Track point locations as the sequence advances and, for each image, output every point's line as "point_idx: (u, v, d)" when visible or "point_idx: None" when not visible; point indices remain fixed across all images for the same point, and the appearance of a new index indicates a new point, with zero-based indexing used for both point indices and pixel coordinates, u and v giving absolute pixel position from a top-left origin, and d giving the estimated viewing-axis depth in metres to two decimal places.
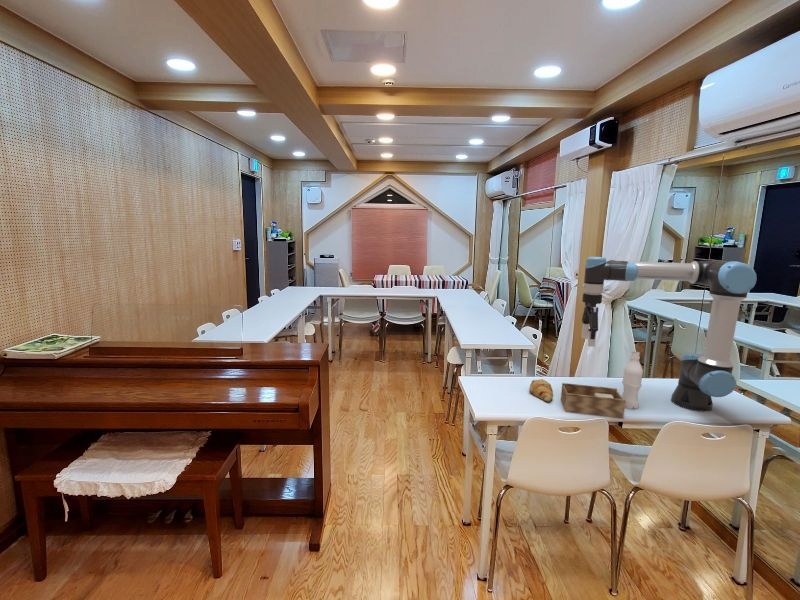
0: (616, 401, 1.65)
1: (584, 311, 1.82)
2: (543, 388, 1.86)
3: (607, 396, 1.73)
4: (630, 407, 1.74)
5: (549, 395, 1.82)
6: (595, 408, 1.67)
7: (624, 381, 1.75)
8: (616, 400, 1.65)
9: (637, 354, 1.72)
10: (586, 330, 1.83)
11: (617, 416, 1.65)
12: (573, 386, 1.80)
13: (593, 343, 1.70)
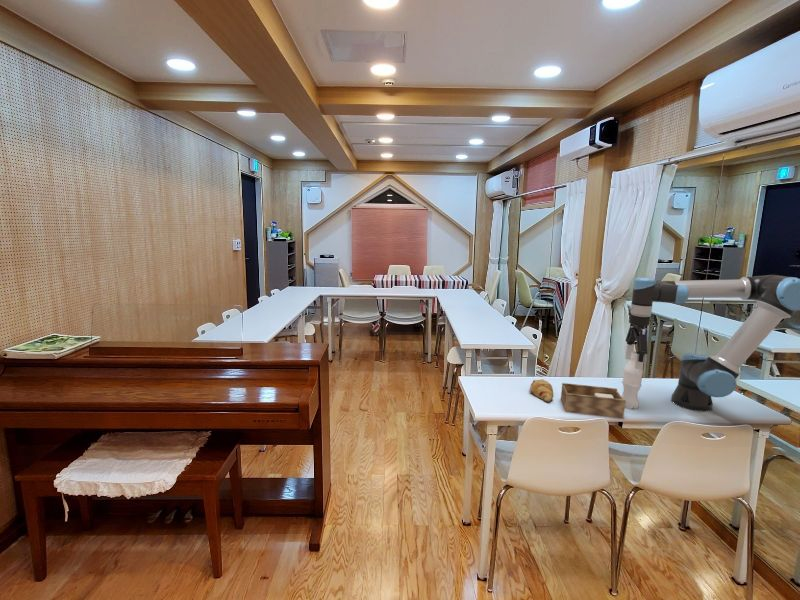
0: (616, 401, 1.65)
1: (629, 332, 1.79)
2: (543, 388, 1.85)
3: (607, 396, 1.73)
4: (630, 407, 1.74)
5: (549, 395, 1.82)
6: (595, 408, 1.67)
7: (624, 381, 1.75)
8: (616, 400, 1.65)
9: None
10: (630, 351, 1.80)
11: (617, 416, 1.65)
12: (573, 386, 1.80)
13: (641, 366, 1.67)
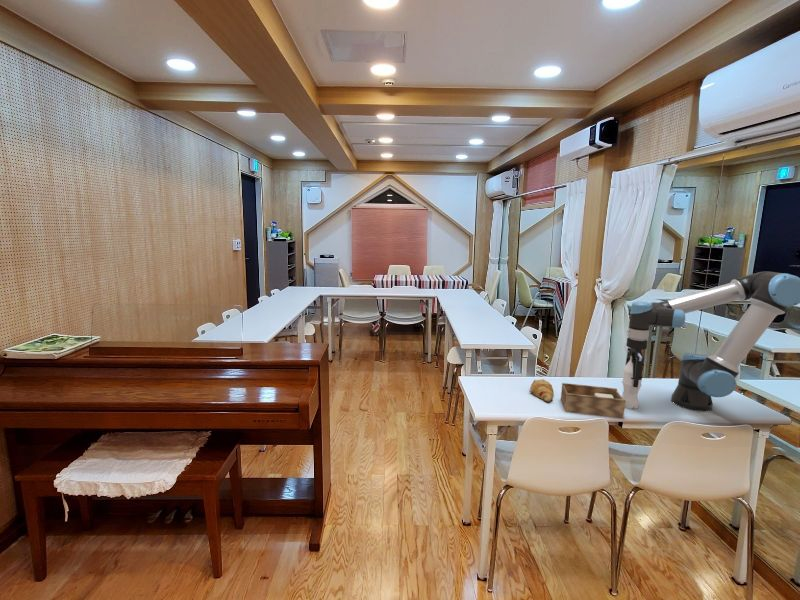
0: (616, 401, 1.65)
1: (627, 357, 1.80)
2: (543, 388, 1.85)
3: (607, 396, 1.73)
4: (630, 407, 1.74)
5: (549, 395, 1.82)
6: (595, 408, 1.67)
7: (624, 381, 1.75)
8: (616, 400, 1.65)
9: None
10: None
11: (617, 416, 1.65)
12: (573, 386, 1.80)
13: (636, 391, 1.72)
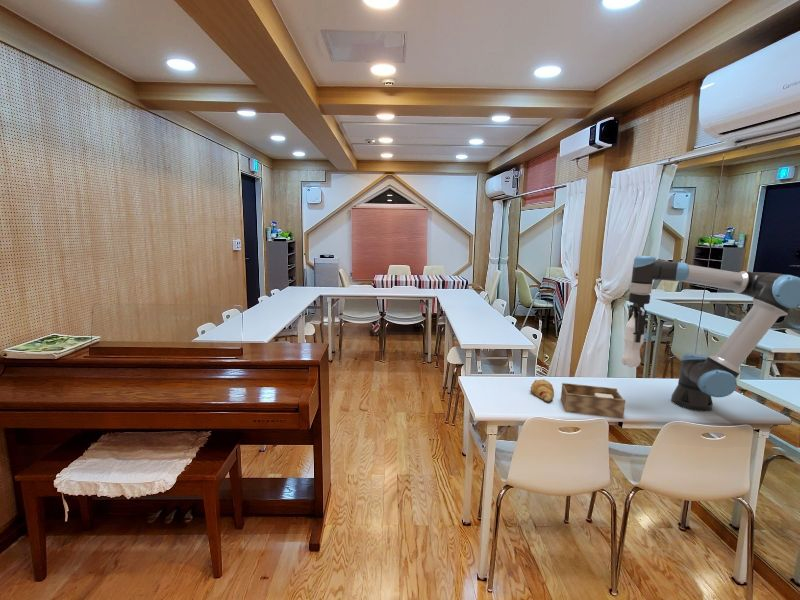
0: (616, 401, 1.65)
1: (629, 314, 1.77)
2: (544, 388, 1.85)
3: (607, 396, 1.73)
4: (632, 363, 1.71)
5: (549, 395, 1.81)
6: (595, 408, 1.67)
7: (626, 337, 1.72)
8: (616, 400, 1.65)
9: None
10: None
11: (617, 416, 1.65)
12: (573, 386, 1.80)
13: (638, 346, 1.69)
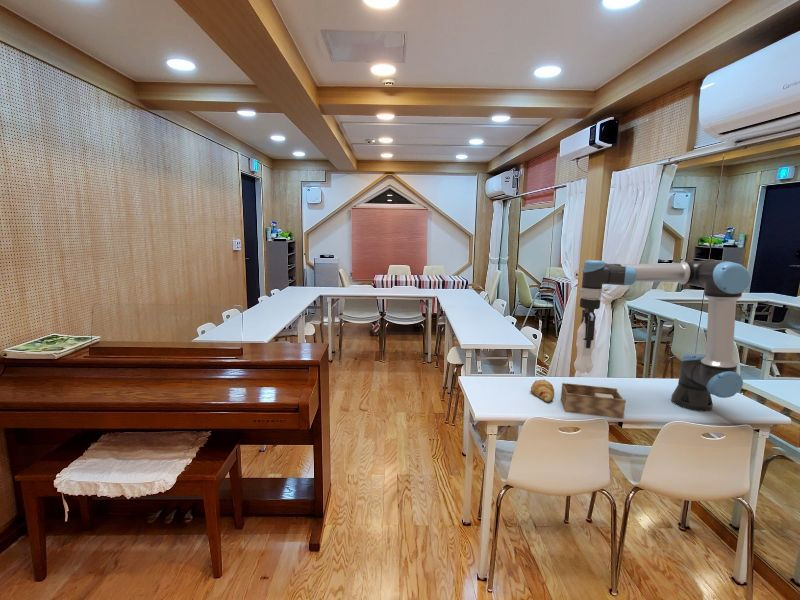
0: (616, 401, 1.65)
1: (582, 319, 1.74)
2: (544, 388, 1.85)
3: (607, 396, 1.73)
4: (583, 369, 1.69)
5: (549, 395, 1.81)
6: (595, 408, 1.67)
7: (577, 343, 1.70)
8: (616, 400, 1.65)
9: None
10: None
11: (617, 416, 1.65)
12: (573, 386, 1.80)
13: (588, 352, 1.66)
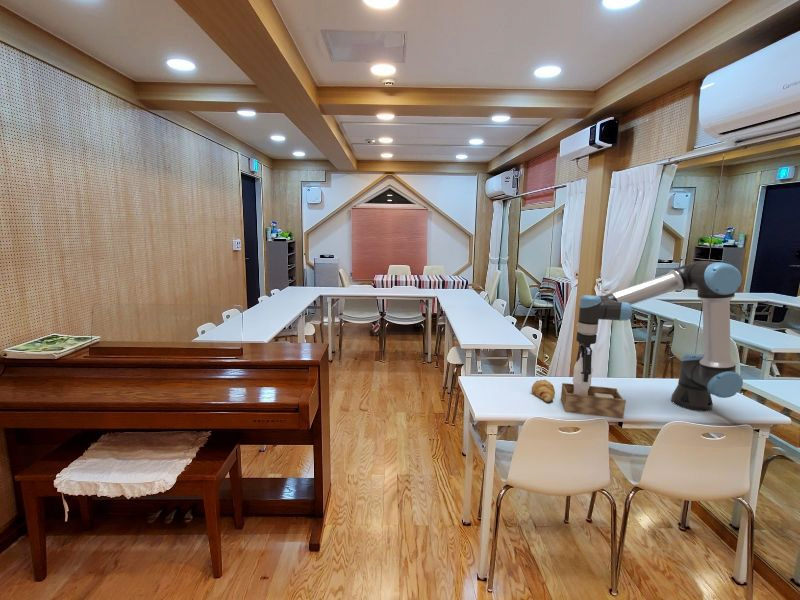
0: (616, 401, 1.65)
1: (578, 351, 1.77)
2: (544, 388, 1.85)
3: (607, 396, 1.73)
4: None
5: (549, 395, 1.81)
6: (595, 408, 1.67)
7: (574, 379, 1.73)
8: (616, 400, 1.65)
9: None
10: None
11: (617, 416, 1.65)
12: (573, 386, 1.80)
13: (586, 386, 1.67)
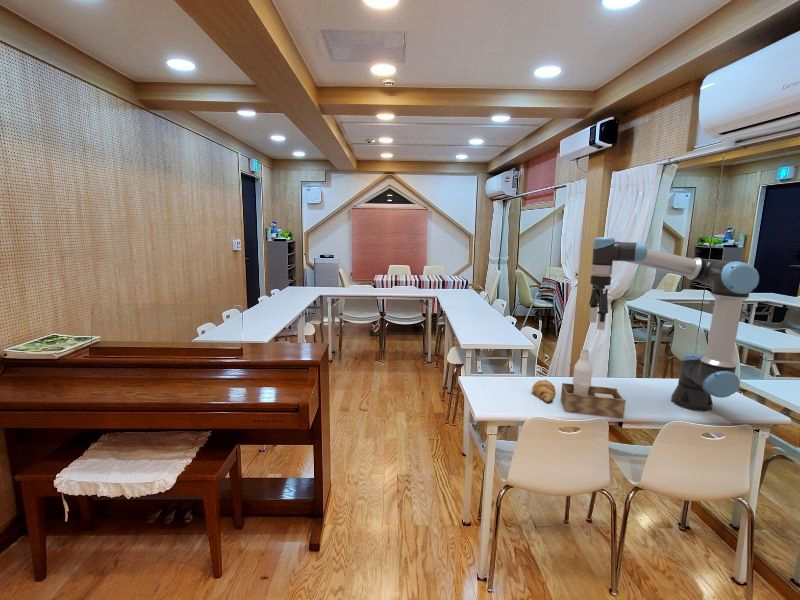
0: (616, 401, 1.65)
1: (592, 294, 1.77)
2: (544, 388, 1.85)
3: (607, 396, 1.73)
4: None
5: (549, 395, 1.81)
6: (595, 408, 1.67)
7: (574, 380, 1.72)
8: (616, 400, 1.65)
9: (587, 352, 1.69)
10: (594, 314, 1.78)
11: (617, 416, 1.65)
12: (573, 386, 1.80)
13: (603, 326, 1.65)
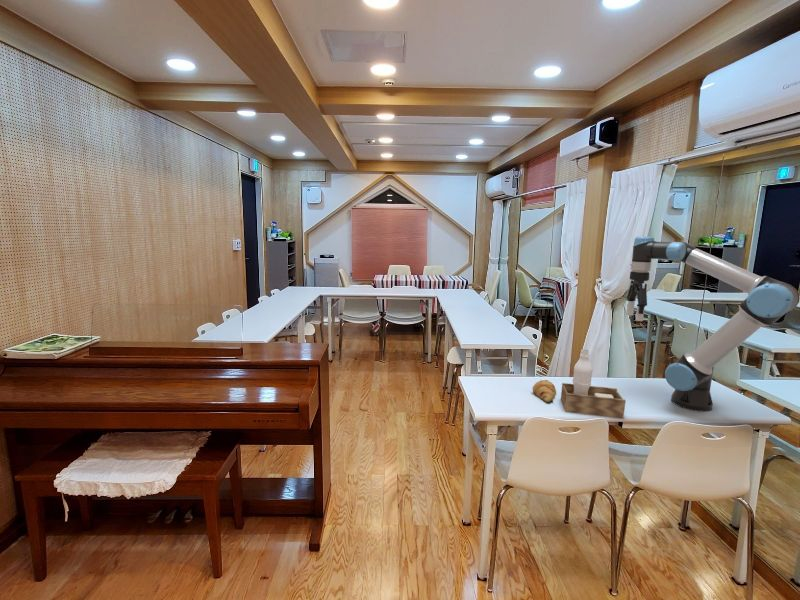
0: (616, 401, 1.65)
1: (630, 289, 1.92)
2: (545, 388, 1.85)
3: (607, 396, 1.73)
4: None
5: (549, 395, 1.81)
6: (595, 408, 1.67)
7: (574, 380, 1.72)
8: (616, 400, 1.65)
9: (586, 352, 1.69)
10: (631, 307, 1.93)
11: (617, 416, 1.65)
12: (573, 386, 1.80)
13: (641, 318, 1.80)
